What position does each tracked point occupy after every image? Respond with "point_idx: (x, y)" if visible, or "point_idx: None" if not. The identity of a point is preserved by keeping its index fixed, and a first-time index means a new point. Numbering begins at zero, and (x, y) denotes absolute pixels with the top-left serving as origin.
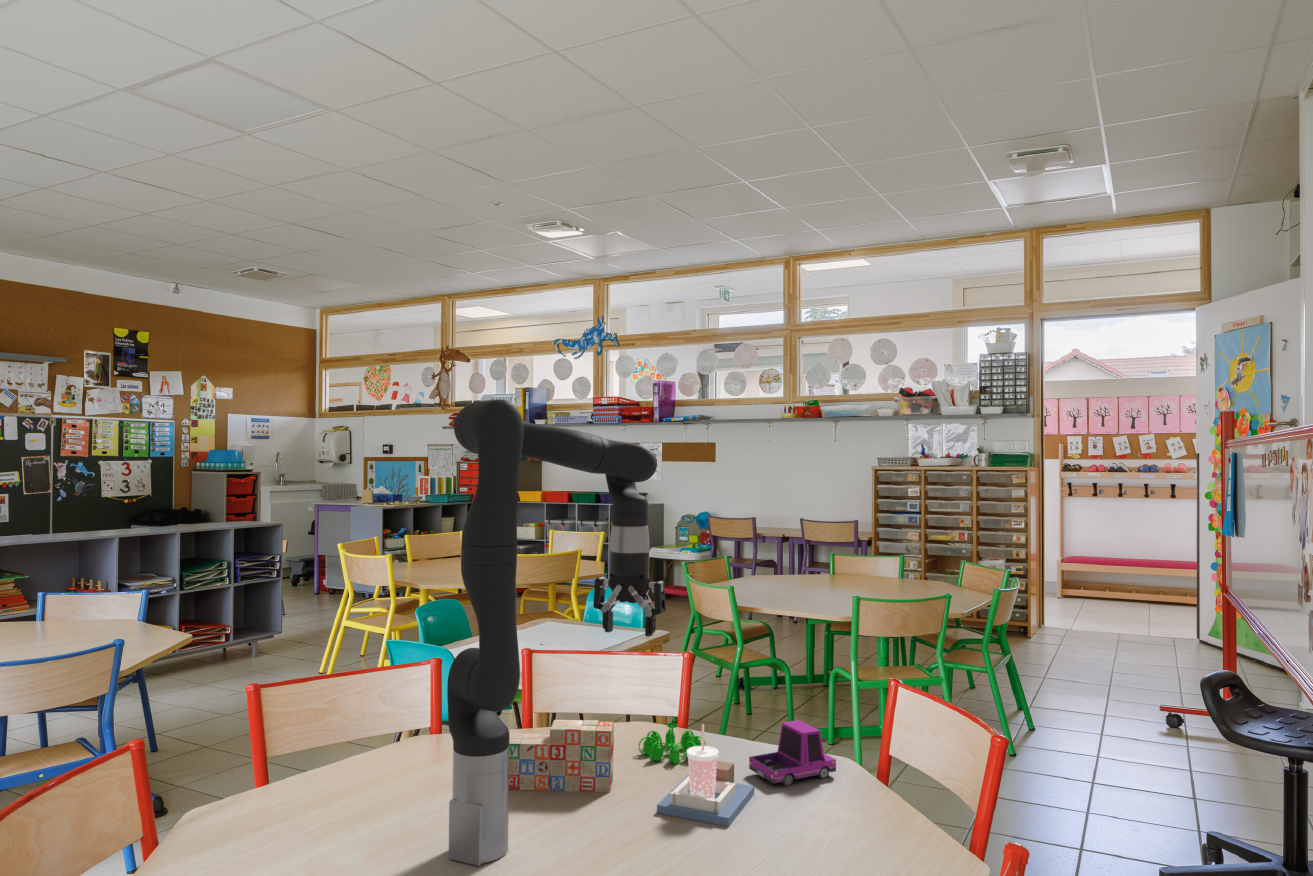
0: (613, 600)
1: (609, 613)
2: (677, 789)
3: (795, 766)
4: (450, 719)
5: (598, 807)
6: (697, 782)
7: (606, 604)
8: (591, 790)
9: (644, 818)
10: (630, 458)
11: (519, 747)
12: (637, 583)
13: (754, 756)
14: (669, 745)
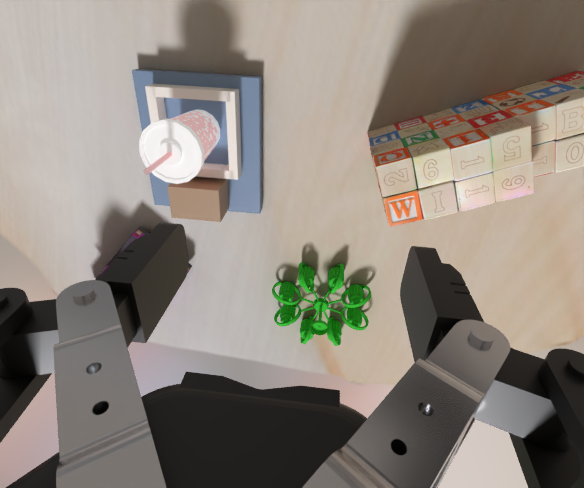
0: (399, 388)
1: (431, 333)
2: (230, 114)
3: (113, 260)
4: None
5: (366, 60)
6: (187, 115)
7: (474, 373)
8: (400, 122)
9: (273, 46)
10: None
11: None
12: None
13: None
14: (323, 303)
